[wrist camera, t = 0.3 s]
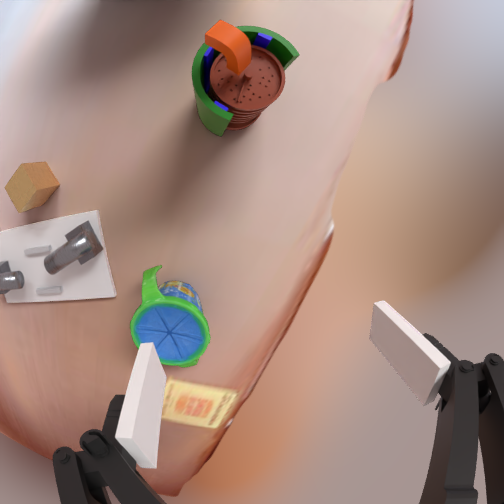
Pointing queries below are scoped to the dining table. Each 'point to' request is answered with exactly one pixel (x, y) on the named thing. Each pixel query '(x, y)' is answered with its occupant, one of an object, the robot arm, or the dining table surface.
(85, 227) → the shaft
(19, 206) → the block
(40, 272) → the base plate
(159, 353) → the snack cup
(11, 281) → the shaft
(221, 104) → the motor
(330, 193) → the dining table surface
